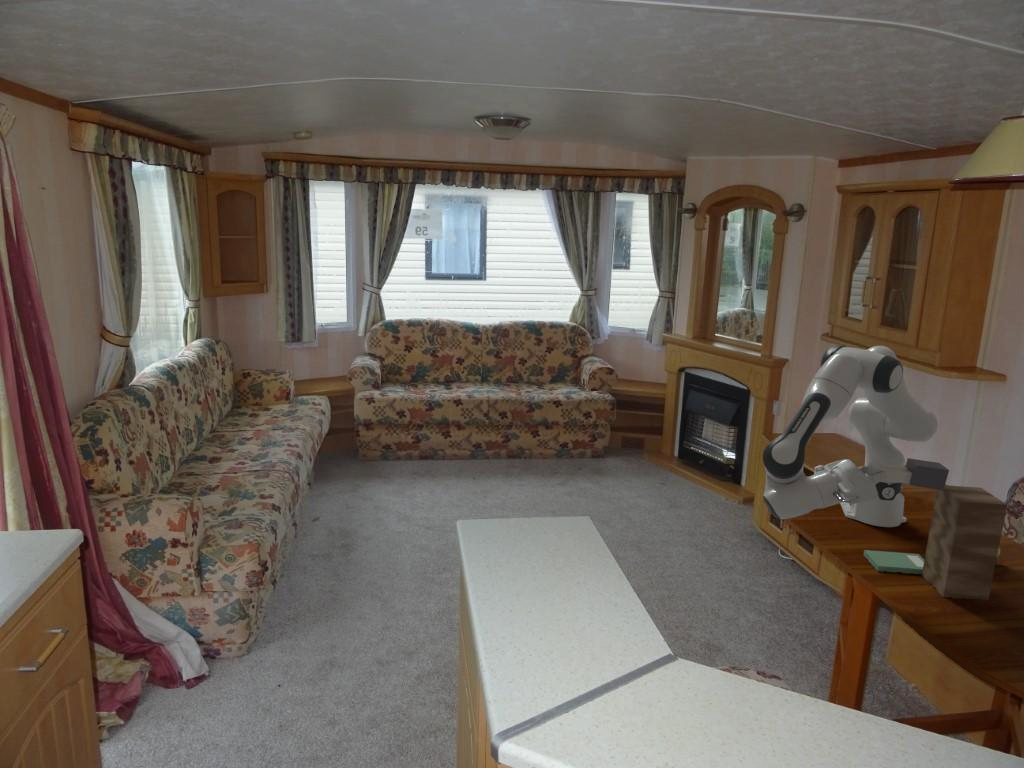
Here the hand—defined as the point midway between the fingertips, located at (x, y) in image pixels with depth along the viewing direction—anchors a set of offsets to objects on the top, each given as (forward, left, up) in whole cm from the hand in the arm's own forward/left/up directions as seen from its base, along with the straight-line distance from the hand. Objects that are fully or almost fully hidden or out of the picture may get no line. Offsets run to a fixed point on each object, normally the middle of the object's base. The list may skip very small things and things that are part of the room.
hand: (881, 470), depth 189 cm
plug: (0, +6, -2) cm, 6 cm away
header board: (-10, +13, -30) cm, 34 cm away
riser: (+1, +22, -30) cm, 38 cm away
